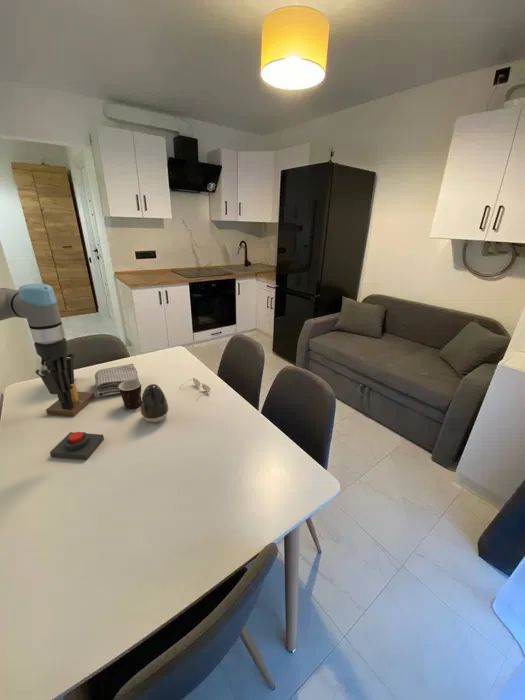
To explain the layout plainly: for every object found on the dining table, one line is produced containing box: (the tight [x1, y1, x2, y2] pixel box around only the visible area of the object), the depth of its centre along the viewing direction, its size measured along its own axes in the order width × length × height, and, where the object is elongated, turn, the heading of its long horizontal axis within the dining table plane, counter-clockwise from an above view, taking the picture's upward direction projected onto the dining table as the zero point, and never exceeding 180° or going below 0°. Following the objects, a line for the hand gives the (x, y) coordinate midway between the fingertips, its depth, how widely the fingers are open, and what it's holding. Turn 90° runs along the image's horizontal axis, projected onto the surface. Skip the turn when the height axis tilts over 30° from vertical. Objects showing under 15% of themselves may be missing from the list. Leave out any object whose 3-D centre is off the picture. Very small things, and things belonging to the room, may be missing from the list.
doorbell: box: [49, 431, 105, 461], centre depth 98 cm, size 12×10×4 cm
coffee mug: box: [118, 379, 142, 411], centre depth 119 cm, size 12×9×10 cm
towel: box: [94, 363, 143, 398], centre depth 134 cm, size 15×18×8 cm
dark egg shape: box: [140, 383, 170, 423], centre depth 112 cm, size 10×10×15 cm
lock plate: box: [45, 391, 96, 418], centre depth 120 cm, size 14×11×3 cm
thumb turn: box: [70, 382, 79, 402], centre depth 118 cm, size 6×2×8 cm, turn 86°
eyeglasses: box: [179, 377, 211, 401], centre depth 133 cm, size 14×8×4 cm, turn 49°
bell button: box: [69, 431, 84, 444], centre depth 97 cm, size 4×4×2 cm
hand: (68, 408), depth 92 cm, fingers closed
